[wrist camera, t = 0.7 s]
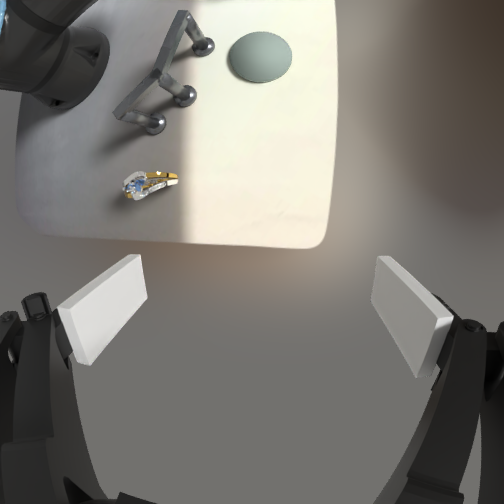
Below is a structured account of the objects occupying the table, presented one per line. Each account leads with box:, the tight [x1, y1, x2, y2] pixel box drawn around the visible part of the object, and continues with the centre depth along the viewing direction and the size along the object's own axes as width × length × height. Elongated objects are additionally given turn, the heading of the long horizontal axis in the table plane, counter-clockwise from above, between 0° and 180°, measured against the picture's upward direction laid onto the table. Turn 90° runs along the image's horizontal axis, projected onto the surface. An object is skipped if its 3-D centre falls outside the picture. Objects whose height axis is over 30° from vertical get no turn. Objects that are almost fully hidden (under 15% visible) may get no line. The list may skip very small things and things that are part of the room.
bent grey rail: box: [112, 10, 215, 134], centre depth 26 cm, size 8×15×10 cm, turn 129°
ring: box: [123, 171, 178, 200], centre depth 31 cm, size 7×3×8 cm, turn 93°
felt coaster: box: [230, 32, 292, 82], centre depth 29 cm, size 8×8×1 cm
